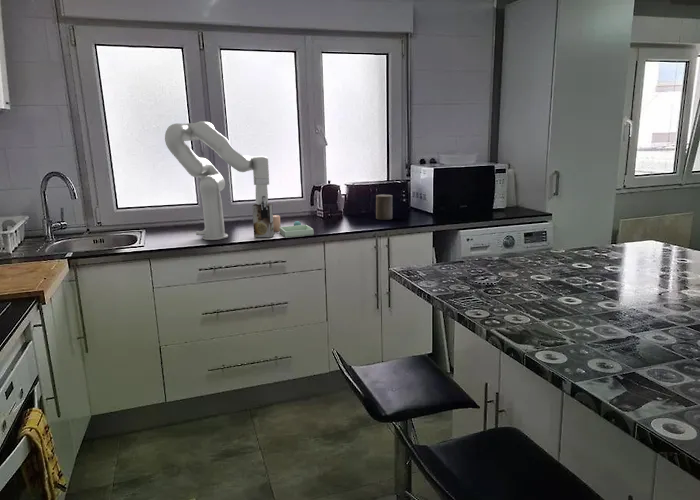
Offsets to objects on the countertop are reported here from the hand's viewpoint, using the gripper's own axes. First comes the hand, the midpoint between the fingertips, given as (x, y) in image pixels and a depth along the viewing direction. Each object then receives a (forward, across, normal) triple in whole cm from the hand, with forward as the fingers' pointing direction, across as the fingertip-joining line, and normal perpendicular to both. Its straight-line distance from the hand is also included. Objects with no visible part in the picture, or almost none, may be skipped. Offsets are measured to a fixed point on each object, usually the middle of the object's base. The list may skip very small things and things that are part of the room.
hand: (263, 216), depth 256 cm
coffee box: (+10, 0, 0) cm, 10 cm away
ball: (+10, -15, +21) cm, 27 cm away
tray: (+10, 0, +17) cm, 20 cm away
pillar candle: (+10, -22, +75) cm, 78 cm away
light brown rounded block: (+10, -14, +8) cm, 19 cm away
